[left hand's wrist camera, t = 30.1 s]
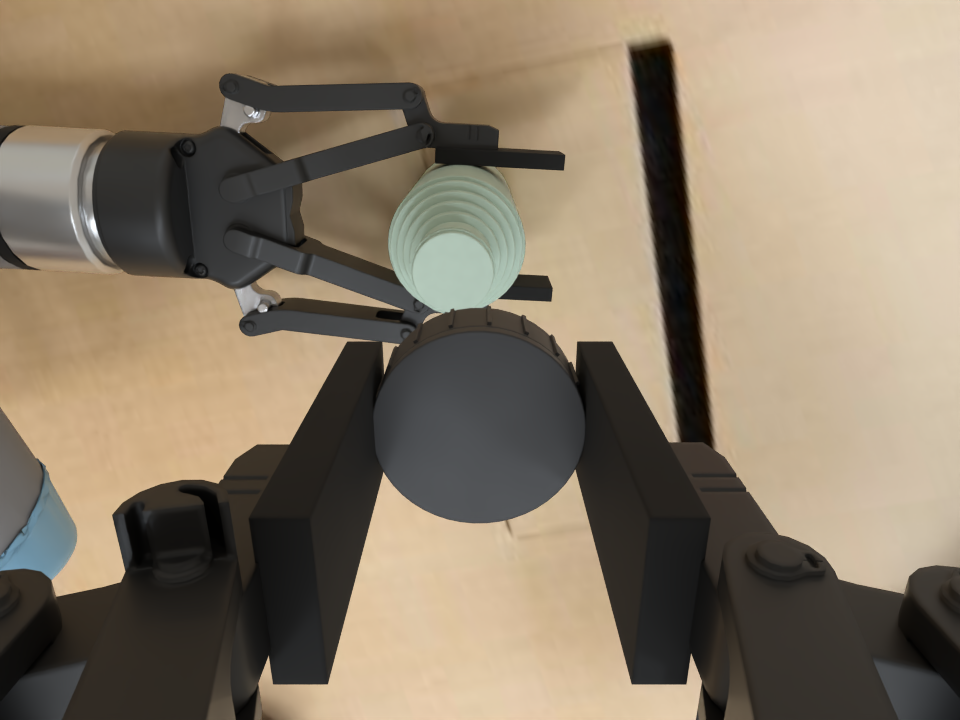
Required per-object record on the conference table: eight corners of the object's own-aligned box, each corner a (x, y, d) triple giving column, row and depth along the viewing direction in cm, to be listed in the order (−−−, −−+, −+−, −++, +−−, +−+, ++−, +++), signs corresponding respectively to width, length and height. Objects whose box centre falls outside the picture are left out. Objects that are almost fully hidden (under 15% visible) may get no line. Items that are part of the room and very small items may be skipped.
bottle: (431, 139, 40) (399, 164, 23) (526, 175, 41) (559, 224, 24) (400, 235, 42) (351, 320, 25) (491, 267, 43) (500, 370, 26)
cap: (456, 516, 16) (453, 559, 14) (339, 375, 14) (322, 406, 13) (614, 423, 15) (628, 458, 13) (504, 264, 13) (508, 283, 12)
